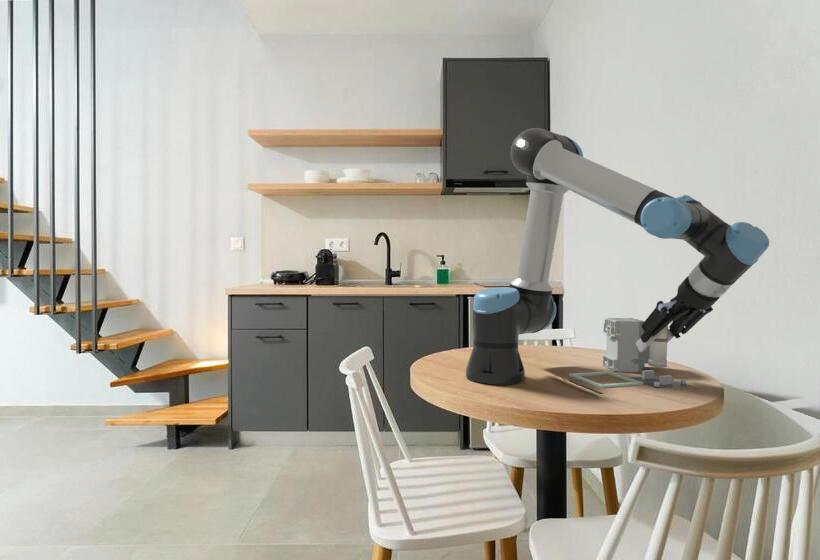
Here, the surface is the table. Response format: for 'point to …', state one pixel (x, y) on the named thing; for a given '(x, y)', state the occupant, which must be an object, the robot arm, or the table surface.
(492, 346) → the robot arm
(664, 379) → the block
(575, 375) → the tray
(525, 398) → the table surface
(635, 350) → the circuit breaker
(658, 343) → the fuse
